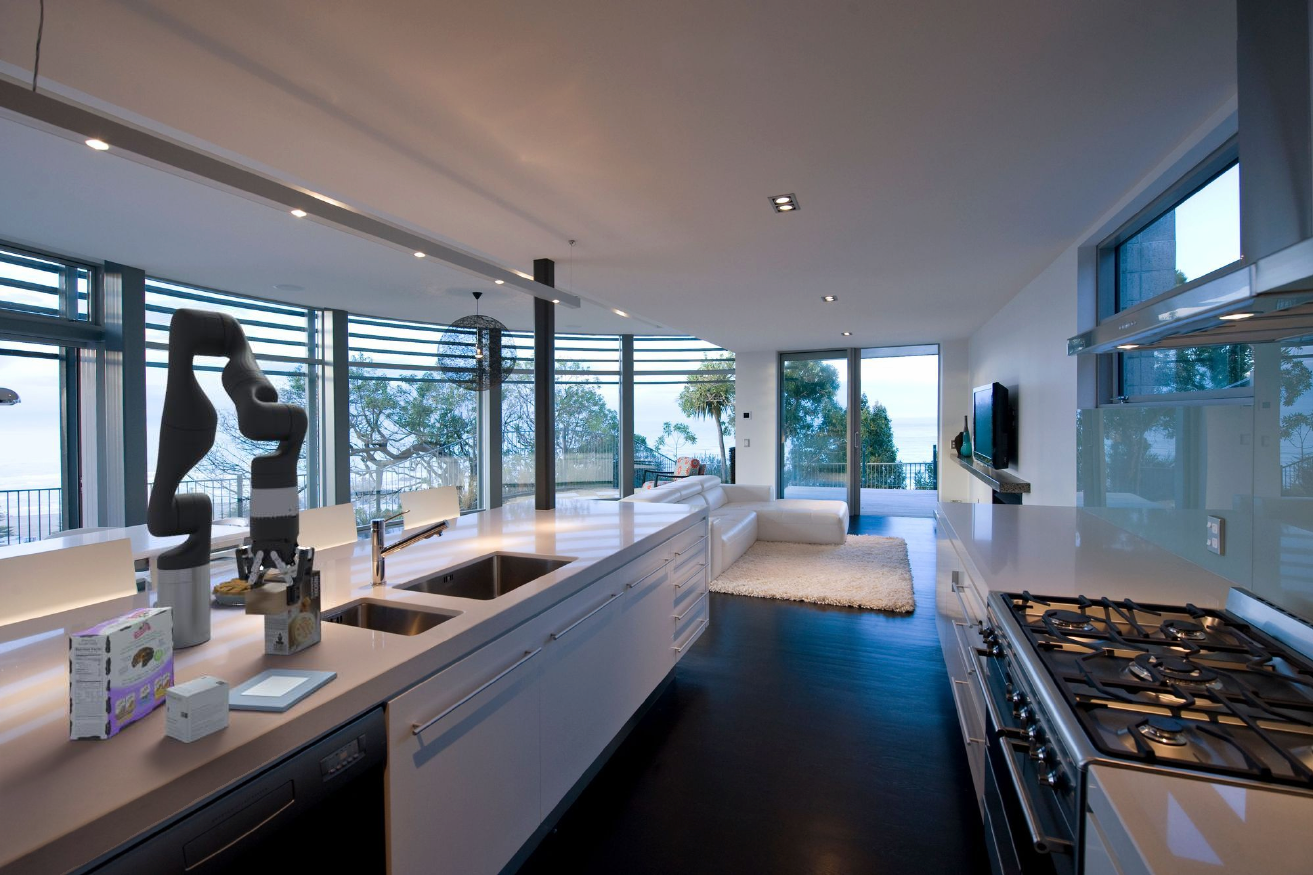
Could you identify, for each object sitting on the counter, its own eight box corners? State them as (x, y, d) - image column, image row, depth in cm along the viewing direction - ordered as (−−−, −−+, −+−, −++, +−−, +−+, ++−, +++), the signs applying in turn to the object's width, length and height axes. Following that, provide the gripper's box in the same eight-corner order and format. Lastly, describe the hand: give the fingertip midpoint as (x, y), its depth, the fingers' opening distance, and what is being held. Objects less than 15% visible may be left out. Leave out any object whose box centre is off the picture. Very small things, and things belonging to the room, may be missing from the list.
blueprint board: (207, 707, 99) (207, 702, 99) (269, 672, 113) (269, 668, 113) (283, 711, 98) (283, 706, 98) (336, 676, 111) (336, 671, 111)
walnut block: (245, 614, 102) (245, 591, 102) (270, 604, 108) (270, 583, 108) (277, 615, 101) (276, 592, 101) (301, 605, 107) (300, 583, 107)
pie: (272, 608, 153) (272, 589, 153) (191, 607, 154) (191, 589, 154) (321, 586, 175) (321, 569, 175) (250, 585, 176) (250, 569, 175)
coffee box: (298, 638, 131) (297, 568, 131) (322, 640, 130) (321, 569, 130) (263, 653, 122) (262, 578, 122) (288, 656, 121) (288, 580, 121)
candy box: (140, 698, 102) (139, 606, 102) (175, 697, 102) (175, 605, 102) (67, 741, 88) (66, 634, 88) (108, 739, 89) (107, 633, 88)
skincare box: (164, 735, 90) (164, 688, 90) (207, 717, 95) (207, 673, 95) (187, 744, 87) (186, 696, 87) (230, 725, 93) (230, 680, 93)
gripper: (220, 514, 102) (221, 609, 102) (297, 515, 100) (298, 611, 100) (254, 509, 109) (255, 597, 109) (325, 509, 108) (326, 599, 108)
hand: (275, 603), depth 105 cm, fingers closed on walnut block, 6 cm apart
